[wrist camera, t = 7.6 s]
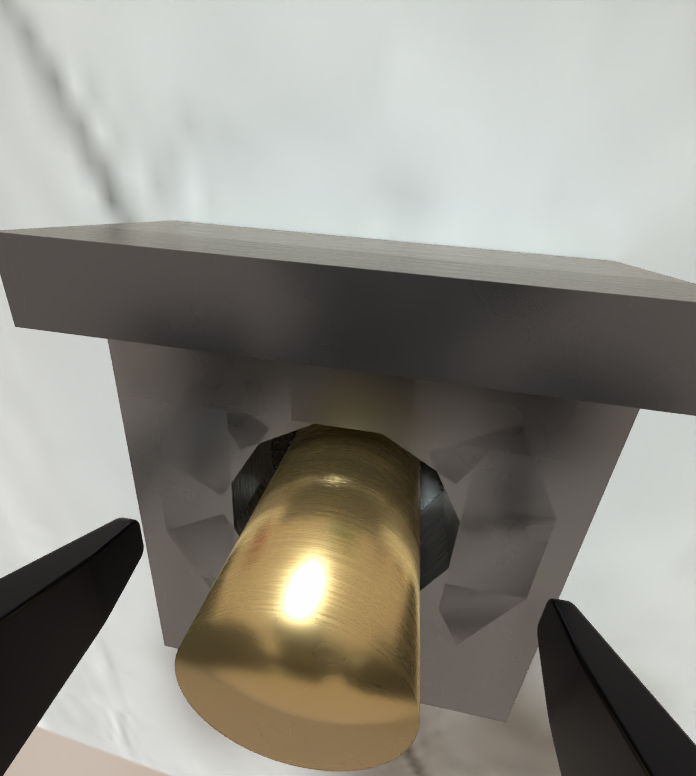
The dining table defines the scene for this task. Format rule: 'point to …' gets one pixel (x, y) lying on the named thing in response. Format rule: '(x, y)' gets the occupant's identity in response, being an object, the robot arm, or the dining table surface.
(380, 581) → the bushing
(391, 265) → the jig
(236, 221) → the dining table surface
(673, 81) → the dining table surface
